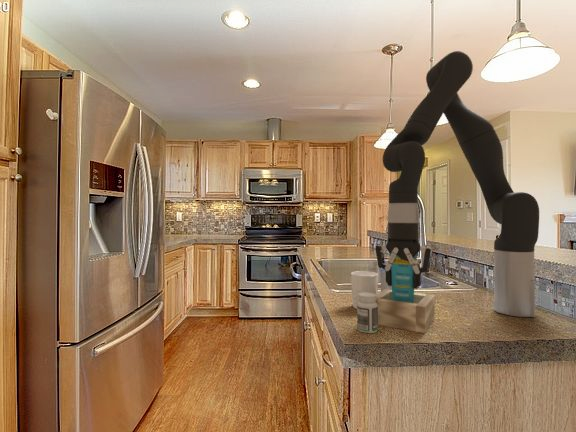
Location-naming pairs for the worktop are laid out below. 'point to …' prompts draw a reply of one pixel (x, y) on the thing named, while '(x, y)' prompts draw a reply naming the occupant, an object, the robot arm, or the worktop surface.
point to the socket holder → (406, 311)
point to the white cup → (363, 284)
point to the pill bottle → (367, 313)
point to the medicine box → (384, 281)
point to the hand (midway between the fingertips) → (402, 286)
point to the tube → (402, 280)
